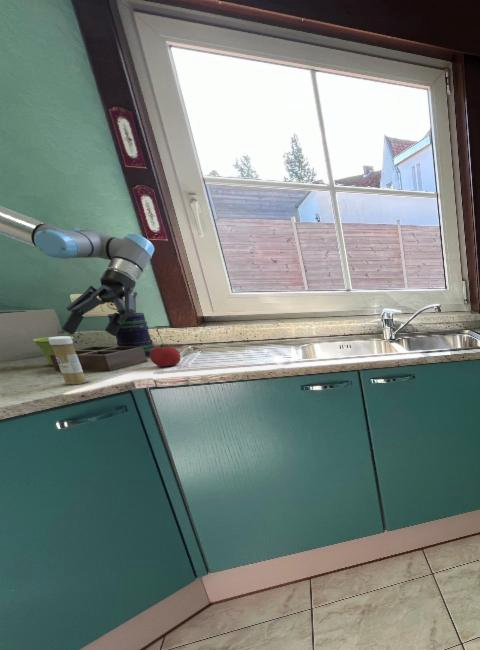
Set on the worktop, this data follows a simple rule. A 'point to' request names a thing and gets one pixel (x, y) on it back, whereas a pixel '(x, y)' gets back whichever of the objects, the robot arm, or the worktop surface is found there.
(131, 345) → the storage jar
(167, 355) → the tomato
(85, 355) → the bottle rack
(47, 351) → the plant pot
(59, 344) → the sprinkles bottle
